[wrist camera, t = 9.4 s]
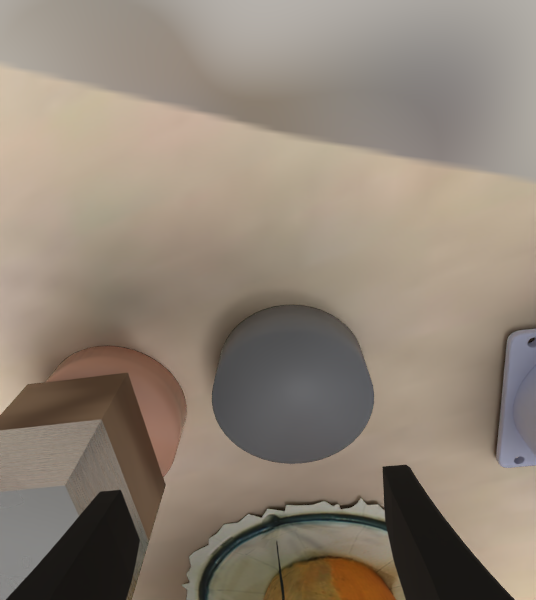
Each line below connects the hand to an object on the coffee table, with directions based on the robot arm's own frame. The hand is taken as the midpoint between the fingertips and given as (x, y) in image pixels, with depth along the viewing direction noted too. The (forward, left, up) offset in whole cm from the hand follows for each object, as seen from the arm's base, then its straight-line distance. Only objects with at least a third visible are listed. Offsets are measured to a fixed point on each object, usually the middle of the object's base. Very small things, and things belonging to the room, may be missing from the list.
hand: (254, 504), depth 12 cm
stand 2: (-1, +2, -9) cm, 10 cm away
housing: (+8, +3, -7) cm, 11 cm away
